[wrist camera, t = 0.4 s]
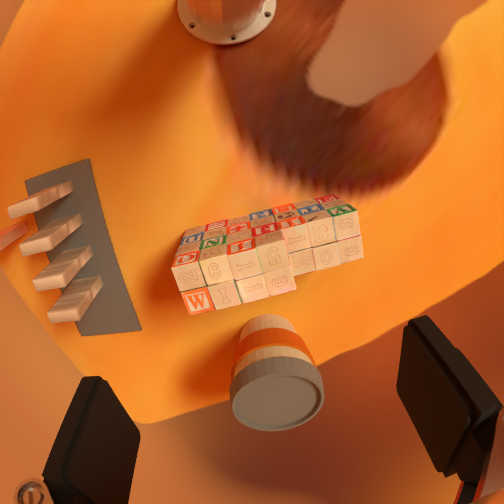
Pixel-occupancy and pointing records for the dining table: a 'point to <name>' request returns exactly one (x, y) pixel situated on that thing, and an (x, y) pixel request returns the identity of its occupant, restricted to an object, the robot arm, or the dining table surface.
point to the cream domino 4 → (75, 300)
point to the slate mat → (96, 235)
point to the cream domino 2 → (50, 235)
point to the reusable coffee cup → (274, 376)
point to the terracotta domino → (12, 234)
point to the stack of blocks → (264, 252)
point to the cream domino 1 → (39, 200)
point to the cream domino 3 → (62, 268)
